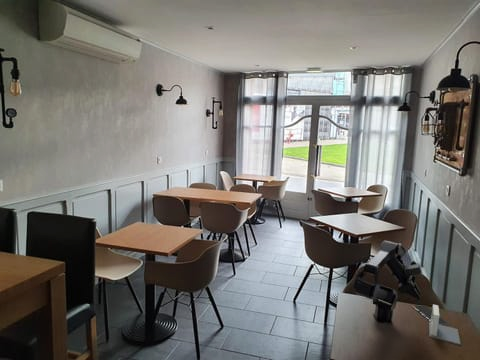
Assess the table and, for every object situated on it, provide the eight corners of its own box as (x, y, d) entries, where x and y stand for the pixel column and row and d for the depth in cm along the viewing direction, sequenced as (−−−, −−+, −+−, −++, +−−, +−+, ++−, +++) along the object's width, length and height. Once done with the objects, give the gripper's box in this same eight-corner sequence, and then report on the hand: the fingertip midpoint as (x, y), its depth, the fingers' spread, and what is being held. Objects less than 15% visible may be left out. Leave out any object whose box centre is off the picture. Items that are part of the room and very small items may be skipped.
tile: (430, 334, 147) (433, 314, 145) (430, 323, 156) (433, 304, 154) (436, 336, 146) (439, 316, 144) (435, 324, 155) (438, 305, 153)
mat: (429, 336, 146) (429, 335, 146) (428, 322, 157) (428, 321, 157) (460, 345, 141) (460, 344, 141) (457, 330, 152) (457, 329, 152)
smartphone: (434, 324, 155) (412, 305, 171) (434, 326, 155) (411, 307, 171) (449, 323, 156) (425, 305, 172) (449, 326, 156) (425, 307, 172)
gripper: (410, 264, 143) (437, 296, 140) (411, 251, 160) (435, 279, 157) (387, 277, 148) (413, 309, 145) (390, 263, 165) (414, 291, 161)
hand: (419, 296), depth 152 cm, fingers open, 5 cm apart
